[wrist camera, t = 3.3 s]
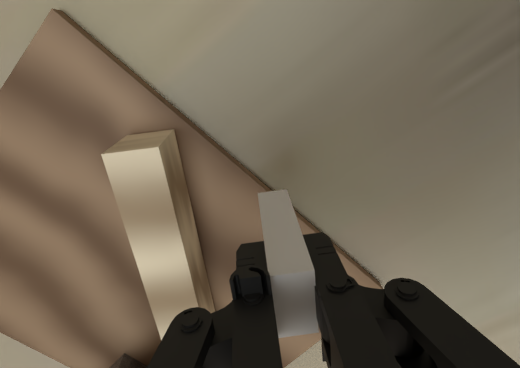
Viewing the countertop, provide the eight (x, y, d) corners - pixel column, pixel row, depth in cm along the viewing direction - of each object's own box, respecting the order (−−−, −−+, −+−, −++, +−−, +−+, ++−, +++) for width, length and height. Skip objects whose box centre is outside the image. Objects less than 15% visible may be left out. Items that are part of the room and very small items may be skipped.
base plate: (61, 10, 19) (51, 8, 18) (379, 282, 28) (384, 290, 27) (-103, 265, 25) (-117, 273, 24) (200, 422, 34) (199, 432, 33)
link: (243, 388, 30) (243, 436, 26) (189, 394, 30) (182, 443, 26) (189, 127, 20) (177, 144, 17) (111, 137, 21) (82, 156, 17)
